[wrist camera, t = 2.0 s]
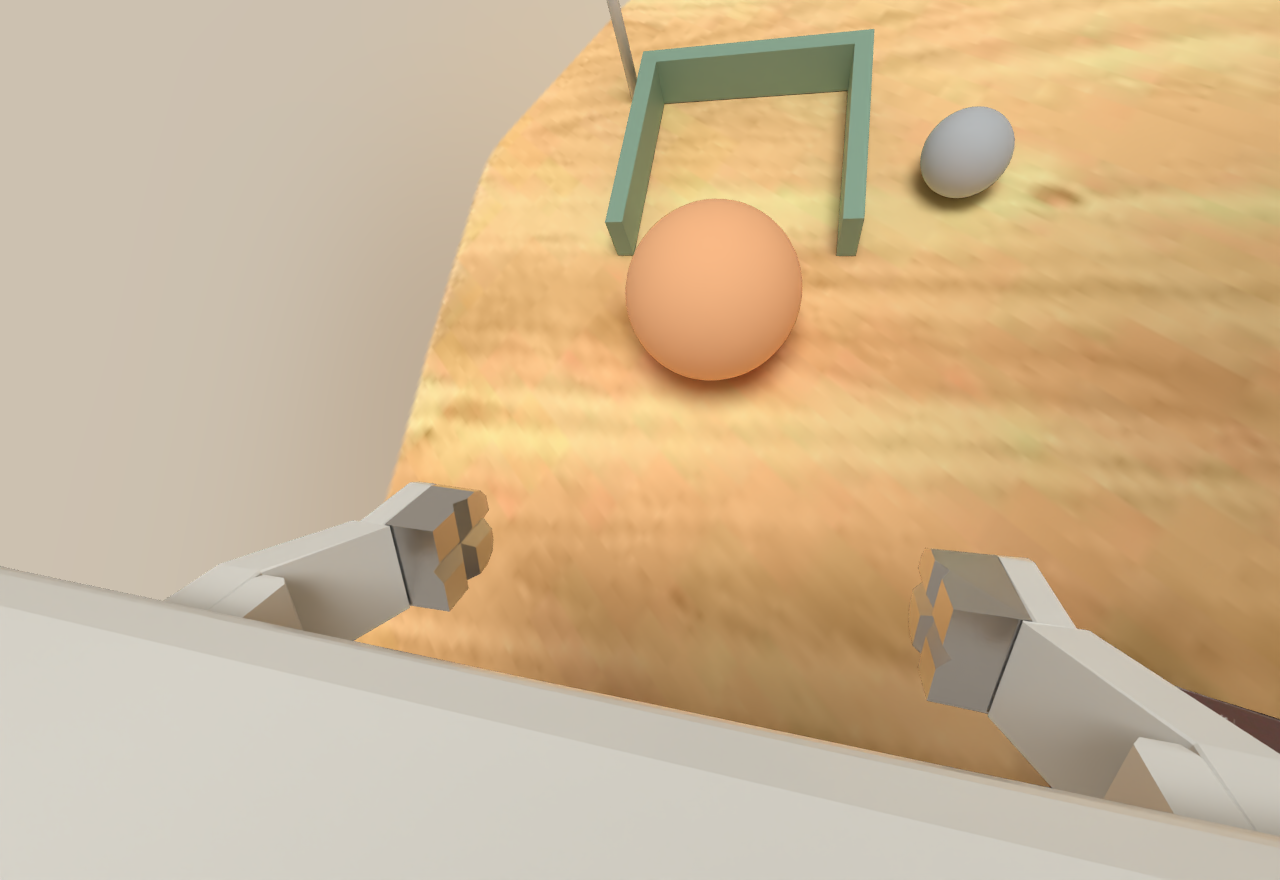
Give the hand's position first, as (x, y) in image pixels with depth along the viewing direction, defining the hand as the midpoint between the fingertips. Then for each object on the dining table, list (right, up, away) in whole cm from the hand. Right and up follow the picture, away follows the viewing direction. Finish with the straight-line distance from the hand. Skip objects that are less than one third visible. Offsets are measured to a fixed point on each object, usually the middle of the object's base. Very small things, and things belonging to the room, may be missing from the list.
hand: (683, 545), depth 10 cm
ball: (+3, +10, +21) cm, 24 cm away
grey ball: (+19, +20, +24) cm, 36 cm away
